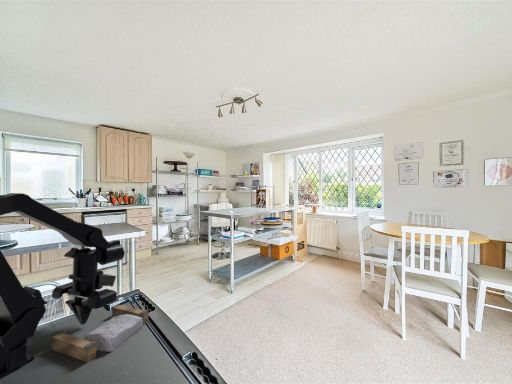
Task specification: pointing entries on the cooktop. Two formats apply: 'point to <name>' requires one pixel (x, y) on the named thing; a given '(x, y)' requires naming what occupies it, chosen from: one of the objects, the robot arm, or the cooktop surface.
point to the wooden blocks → (88, 349)
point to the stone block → (114, 332)
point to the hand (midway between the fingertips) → (83, 323)
